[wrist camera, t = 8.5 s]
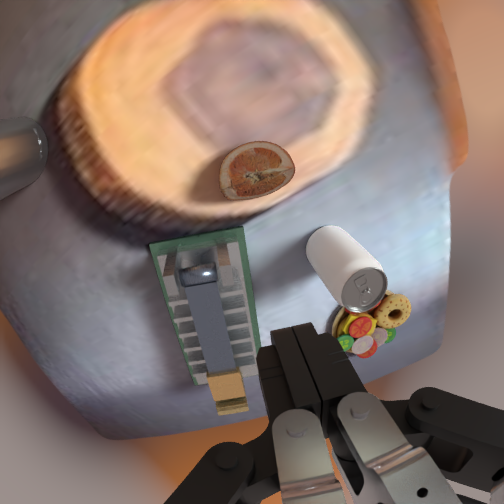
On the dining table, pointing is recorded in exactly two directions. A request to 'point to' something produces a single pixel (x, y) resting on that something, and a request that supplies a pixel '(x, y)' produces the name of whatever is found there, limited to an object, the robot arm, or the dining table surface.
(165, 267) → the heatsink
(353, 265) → the can
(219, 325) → the grey and tan bar
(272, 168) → the fruit slice
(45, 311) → the dining table surface
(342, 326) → the toy food set
